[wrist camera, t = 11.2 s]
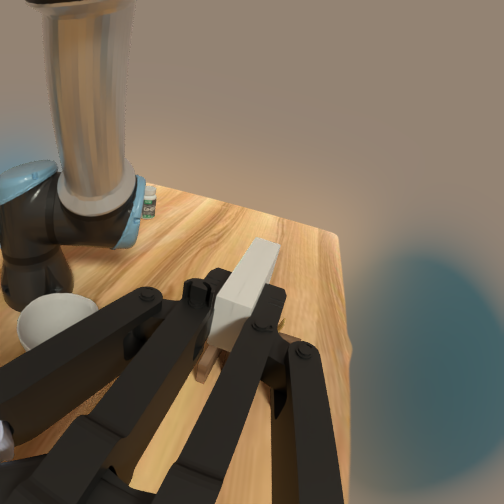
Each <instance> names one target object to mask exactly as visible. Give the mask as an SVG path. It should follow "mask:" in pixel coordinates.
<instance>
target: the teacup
mask: <svg viewBox="0 0 504 504" xmlns="http://www.w3.org/2000/svg"><path fill="white" fill-rule="evenodd" d="M96 311H98V307H97V305H96V304H95V303H94V302H93V301H92V300H90V299H89V298H85V297H83V296H80V295H76V294H72V293H54V294H49V295H44V296H41V297H39V298H37V299H35V300H34V301H32V302H31V303H30V304H29V305H27V306H26V308H25V309H24V310H23V311H22V312H21V314H20V316H19V318H18V320H17V321H18V322H17V333H18V337H19V340H20V342H21V344H22V346H23V347H24V349H25V351H26V352H27V351H29V350H31V349H33V348H34V347H36V346H38V345H39V344H41V343H43V342H44V341H46V340H48V339H50V338H51V337H53V336H55V335H56V334H58V333H60V332H62V331H63V330H65V329H67V328H68V327H70V326H72V325H74V324H75V323H77V322H79V321H81V320H82V319H84V318H86V317H88V316H89V315H91V314H93V313H95V312H96Z"/></svg>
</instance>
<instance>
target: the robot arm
mask: <svg viewBox="0 0 504 504" xmlns="http://www.w3.org/2000/svg"><path fill="white" fill-rule="evenodd" d="M25 1H26V4H27V5H28V6H30V7H32V8H33V9H35V10H37V11H38V12H40V13H42V28H43V47H44V61H45V72H46V81H47V88H48V97H49V104H50V110H51V116H52V122H53V128H54V133H55V138H56V143H57V148H58V153H59V157H60V161H61V166H62V170H63V171H62V172H57V171H58V166H57V164H56V162H55V161H50V160H41V161H34V162H29V163H25V164H22V165H19V166H16V167H13V168H11V169H9V170H7V171H5V172H4V173H2V174H1V175H0V245H1V250H2V255H3V266H2V280H1V287H2V292H3V296H4V299H5V301H6V303H7V304H8V305H9V306H10V307H11V308H12V309H14V310H16V311H19V312H22V311H23V310H24V309H25V308H26V306H27V305H29V304H30V303H31V302H32V301H34V300H35V299H37V298H39V297H41V296H44V295H49V294H54V293H72V290H73V277H72V272H71V269H70V267H69V265H68V263H67V261H66V258H65V256H64V254H63V252H62V250H61V247H60V245H72V246H86V247H100V248H110V249H112V250H115V249H128V248H131V247H132V246H133V245H134V244H135V243H136V240H137V236H138V231H139V225H140V218H141V214H142V208H143V202H144V195H145V187H146V181H145V179H144V178H143V177H141V176H139V175H135V171H134V168H133V166H132V165H131V163H130V162H129V161H128V160H127V159H126V158H125V156H124V155H125V154H124V153H125V141H124V140H125V107H126V88H127V73H128V62H129V52H130V43H131V34H132V27H133V19H134V13H135V6H136V1H137V0H25ZM280 246H281V245H280V244H277V243H274V242H271V241H267V240H264V239H261V238H258V237H256V238H255V239H254V241H253V242H252V244H251V245H250V247H249V248H248V250H247V251H246V253H245V254H244V256H243V257H242V259H241V260H240V262H239V263H238V264H237V266H236V267H235V269H234V270H233V272H230V271H227V270H224V269H221V268H216V269H214V270H211V271H210V272H209V273H208V275H207V276H206V277H205V278H204V280H203V279H199V278H192V279H188V280H186V281H185V282H184V287H183V295H182V299H181V300H180V301H173V300H166V299H163V296H162V293H161V292H160V291H159V290H157V289H155V288H153V287H140V288H137V289H135V290H134V291H132V292H130V293H128V294H126V295H125V296H123V297H121V298H119V299H118V300H116V301H114V302H112V303H110V304H109V305H107V306H105V307H103V308H102V309H100V310H98V311H96V312H95V313H93V314H91V315H89V316H88V317H86V318H84V319H82V320H81V321H79V322H77V323H75V324H74V325H72V326H70V327H68V328H67V329H65V330H63V331H62V332H60V333H58V334H56V335H55V336H53V337H51V338H50V339H48V340H46V341H44V342H43V343H41V344H39V345H38V346H36V347H34V348H33V349H31V350H29V351H27V352H26V353H24V354H22V355H21V356H19V357H17V358H16V359H14V360H12V361H11V362H9V363H7V364H6V365H4V366H2V367H1V368H0V504H215V502H216V499H217V497H218V494H219V492H220V489H221V487H222V484H223V480H224V477H225V474H226V472H227V469H228V467H229V464H230V461H231V459H232V456H233V454H234V451H235V448H236V446H237V443H238V440H239V438H240V435H241V432H242V429H243V427H244V424H245V421H246V418H247V416H248V413H249V410H250V407H251V404H252V402H253V399H254V396H255V393H256V390H257V387H258V384H259V381H260V380H261V381H263V382H264V383H266V384H267V385H269V386H270V387H271V389H270V399H271V456H272V504H344V499H343V492H342V484H341V477H340V470H339V463H338V456H337V450H336V443H335V437H334V431H333V425H332V419H331V413H330V407H329V401H328V396H327V390H326V384H325V379H324V374H323V368H322V363H321V358H320V354H319V351H318V350H317V349H316V347H315V346H313V345H312V344H310V343H308V342H304V341H295V342H292V343H289V342H287V341H286V340H284V339H283V338H282V337H281V336H280V335H279V333H278V330H277V325H278V322H279V319H280V316H281V313H282V309H283V306H284V303H285V300H286V293H285V290H284V289H282V288H279V287H276V286H273V285H270V284H269V282H270V279H271V276H272V273H273V269H274V266H275V263H276V259H277V256H278V253H279V249H280ZM207 338H208V341H207V344H210V345H212V346H215V347H218V348H220V349H223V350H226V351H228V352H231V353H230V355H229V357H228V359H227V361H226V363H225V365H224V367H223V369H222V371H221V373H220V375H219V377H218V379H217V381H216V384H215V386H214V388H213V390H212V392H211V394H210V396H209V398H208V400H207V402H206V404H205V406H204V408H203V410H202V412H201V414H200V416H199V418H198V420H197V422H196V424H195V426H194V428H193V430H192V432H191V434H190V436H189V438H188V440H187V442H186V444H185V446H184V448H183V450H182V452H181V454H180V456H179V458H178V459H177V461H176V462H175V463H173V465H172V466H171V468H170V469H169V471H168V473H167V475H166V477H165V479H164V481H163V482H162V484H161V486H160V488H159V490H158V492H157V494H153V493H149V492H144V491H140V490H136V489H133V488H131V487H129V486H128V485H129V483H130V482H131V479H132V476H133V472H134V469H135V467H136V465H137V463H138V461H139V460H140V458H141V456H142V455H143V453H144V451H145V450H146V448H147V446H148V444H149V443H150V441H151V439H152V438H153V436H154V434H155V432H156V431H157V429H158V427H159V426H160V424H161V422H162V420H163V419H164V417H165V415H166V414H167V412H168V410H169V408H170V407H171V405H172V403H173V402H174V400H175V398H176V396H177V395H178V393H179V391H180V389H181V388H182V386H183V384H184V383H185V381H186V379H187V377H188V376H189V374H190V372H191V371H192V369H193V367H194V365H195V364H196V362H197V360H198V358H199V357H200V355H201V353H202V351H203V348H204V343H205V341H206V339H207ZM119 375H120V376H119ZM118 376H119V377H118ZM116 377H118V378H117V380H116V381H115V382H114V383H113V385H112V386H111V387H110V389H109V390H108V391H107V392H106V394H105V395H104V396H103V398H102V399H101V400H100V401H99V403H98V404H97V405H96V407H95V408H94V409H93V410H92V412H91V413H90V414H88V415H80V416H78V417H77V418H76V419H75V420H74V421H73V422H72V423H71V425H70V426H69V427H68V428H67V430H66V431H65V432H64V433H63V435H62V436H61V437H60V439H59V440H58V441H57V443H56V444H55V445H54V446H53V448H52V449H51V450H50V452H49V453H48V454H43V455H39V456H34V457H29V458H25V459H20V460H14V461H10V460H12V459H13V457H14V446H18V445H21V444H23V443H25V442H27V441H29V440H31V439H33V438H34V437H36V436H38V435H39V434H41V433H42V432H43V431H45V430H46V429H48V428H49V427H50V426H52V425H53V424H54V423H56V422H57V421H59V420H60V419H61V418H63V417H64V416H65V415H67V414H68V413H69V412H71V411H72V410H73V409H75V408H76V407H78V406H79V405H80V404H82V403H83V402H84V401H86V400H87V399H88V398H90V397H91V396H92V395H94V394H95V393H96V392H98V391H99V390H100V389H102V388H103V387H104V386H106V385H107V384H108V383H110V382H111V381H112V380H114V379H115V378H116ZM4 460H6V461H9V462H3V463H1V462H2V461H4Z"/></svg>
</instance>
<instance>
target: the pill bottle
mask: <svg viewBox="0 0 504 504" xmlns="http://www.w3.org/2000/svg"><path fill="white" fill-rule="evenodd" d="M155 194H156V188H155V187H153V186H146V187H145V195H144V202H143V208H142V214H141V218H142V219H152V218H154V216H155V206H156V195H155Z"/></svg>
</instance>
